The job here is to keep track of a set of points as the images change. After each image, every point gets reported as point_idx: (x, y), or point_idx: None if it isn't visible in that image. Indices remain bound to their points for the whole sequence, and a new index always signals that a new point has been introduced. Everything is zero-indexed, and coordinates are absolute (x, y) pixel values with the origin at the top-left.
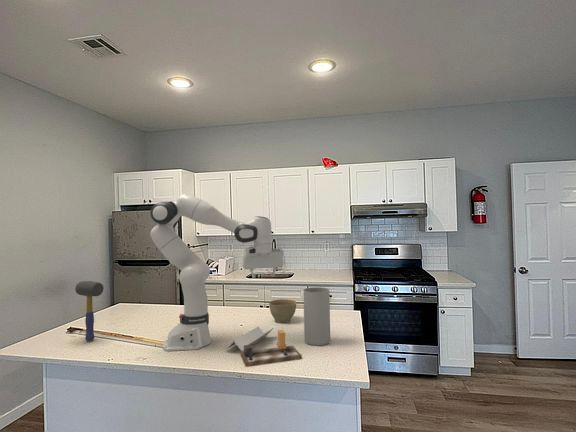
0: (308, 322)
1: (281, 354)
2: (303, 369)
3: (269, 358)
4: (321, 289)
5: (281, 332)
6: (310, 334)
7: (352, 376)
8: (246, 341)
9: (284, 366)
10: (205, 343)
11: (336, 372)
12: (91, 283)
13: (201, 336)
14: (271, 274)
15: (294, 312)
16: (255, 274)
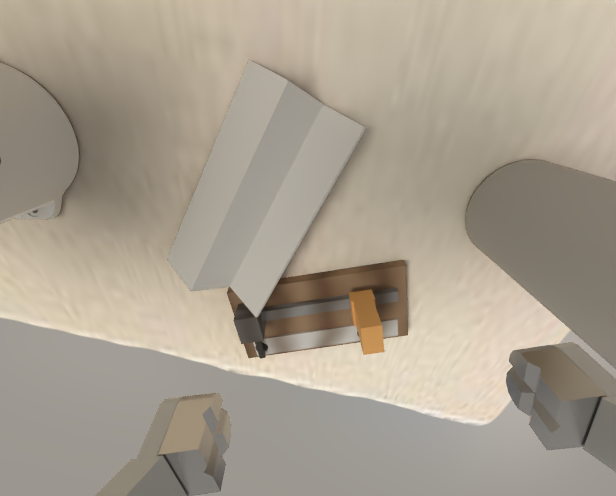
0: (517, 279)
1: (352, 329)
2: (389, 377)
3: (314, 347)
4: None
5: (370, 349)
6: (492, 260)
7: (477, 410)
8: (238, 239)
9: (348, 360)
10: (64, 184)
11: (454, 395)
12: None
13: (27, 206)
14: (531, 418)
15: None
16: (216, 490)
